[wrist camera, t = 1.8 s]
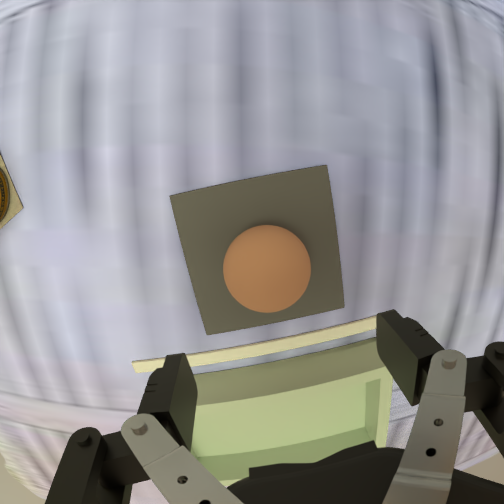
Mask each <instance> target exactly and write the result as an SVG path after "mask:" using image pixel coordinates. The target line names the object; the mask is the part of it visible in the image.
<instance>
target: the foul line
mask: <svg viewBox="0 0 504 504" xmlns="http://www.w3.org/2000/svg"><path fill="white" fill-rule="evenodd" d="M376 316H377V315H376ZM376 316H372V317H369V318H365V319H361V320H357V321H353V322H349V323H345V324H341V325H337V326H333V327H329V328H325V329H321V330H316V331H312V332H307V333H303V334H298V335H294V336H289V337H284V338H279V339H274V340H269V341H264V342H259V343H254V344H248V345H243V346H237V347H231V348H226V349H220V350H213V351H207V352H201V353H194V354H187V355H186V356H187V359H188V362H189V365H190V367H192V366H199V365H206V364H213V363H219V362H225V361H231V360H237V359H243V358H249V357H254V356H260V355H265V354H270V353H275V352H280V351H285V350H290V349H294V348H299V347H304V346H308V345H312V344H317V343H321V342H325V341H330V340H334V339H338V338H342V337H346V336H350V335H353V334H357V333H361V332H365V331H368V330H372V329H376ZM165 358H166V357H165ZM165 358H157V359H149V360H140V361H132V366H133V368H134V370H135V372H136V373H141V372H151V371H155V370H156V369H157V368H163V364H164V361H165Z"/></svg>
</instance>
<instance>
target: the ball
mask: <svg viewBox="0 0 504 504" xmlns="http://www.w3.org/2000/svg"><path fill="white" fill-rule="evenodd" d="M223 274H224V280H225V283H226V286H227V288H228V290H229V292H230V293H231V295H232V296H233V297H234V298H235V299H236V300H237V301H238V302H239V303H240V304H241V305H243V306H244V307H246V308H248V309H250V310H253V311H257V312H263V313H271V312H277V311H281V310H283V309H286V308H288V307H290V306H291V305H292V304H294V303H295V302H296V301H297V300H298V299H299V298H300V297H301V296H302V295H303V293H304V292H305V290H306V288H307V286H308V283H309V280H310V275H311V263H310V258H309V255H308V252H307V250H306V248H305V246H304V244H303V243H302V242H301V240H300V239H299V238H298V237H297V236H296V235H294V234H293V233H292V232H290V231H288V230H287V229H284V228H282V227H278V226H273V225H261V226H256V227H252V228H250V229H248V230H246V231H244V232H243V233H241V234H240V235H239V236H237V237H236V238H235V239H234V241H233V242H232V243H231V244H230V246H229V248H228V250H227V252H226V255H225V258H224V263H223Z"/></svg>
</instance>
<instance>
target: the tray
mask: <svg viewBox="0 0 504 504" xmlns="http://www.w3.org/2000/svg"><path fill="white" fill-rule="evenodd" d="M193 376H194V378H195V381H196V384H197V390H198V397H197V405H196V412H195V420H194V429H193V437H192V445H191V454H192V455H193V456H194V457H195V458H196V459H197V460H198V461H199V462H200V463H201V464H202V465H203V466H204V467H205V468H206V469H207V470H208V471H209V472H210V473H211V474H212V475H213V476H214V477H215V478H216V479H217V480H218V481H219V482H220V483H221V484H222V485H224V486H228V485H231V484H233V483H235V482H237V481H239V480H241V479H243V478H246V477H249V468H251V467H258V466H265V465H271V464H277V463H314V462H317V461H319V460H322V459H324V458H326V457H328V456H330V455H332V454H334V453H336V452H339V451H341V450H343V449H345V448H348V447H352V446H356V445H359V444H362V443H366V442H369V441H372V440H374V441H375V444H376V446H377V448H380V447H385V445H386V438H387V431H388V423H389V414H390V405H391V395H392V383H393V377H392V375H391V374H390V372H389V371H388V369H387V368H386V366H385V365H384V363H383V362H382V360H381V359H380V357H379V355H378V352H377V346H376V338H375V337H374V338H371V339H367V340H364V341H360V342H356V343H352V344H349V345H345V346H341V347H337V348H333V349H329V350H325V351H320V352H316V353H312V354H307V355H303V356H298V357H294V358H289V359H284V360H279V361H274V362H269V363H264V364H258V365H253V366H247V367H241V368H236V369H229V370H223V371H217V372H210V373H203V374H196V375H193Z"/></svg>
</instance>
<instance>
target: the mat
mask: <svg viewBox="0 0 504 504" xmlns="http://www.w3.org/2000/svg"><path fill="white" fill-rule="evenodd" d="M170 200H171V205H172V209H173V213H174V217H175V221H176V225H177V229H178V233H179V237H180V241H181V245H182V249H183V253H184V256H185V260H186V264H187V268H188V271H189V275H190V279H191V282H192V286H193V289H194V293H195V297H196V300H197V304H198V307H199V310H200V314H201V317H202V321H203V324H204V327H205V331H206V334H207V335H212V334H218V333H224V332H229V331H235V330H240V329H246V328H251V327H256V326H261V325H266V324H271V323H276V322H281V321H286V320H291V319H296V318H300V317H305V316H309V315H314V314H318V313H323V312H327V311H331V310H335V309H340V308H344V295H343V284H342V274H341V264H340V255H339V246H338V238H337V230H336V222H335V215H334V208H333V201H332V194H331V187H330V181H329V175H328V169H327V165H322V166H316V167H310V168H304V169H298V170H292V171H287V172H281V173H276V174H270V175H265V176H260V177H254V178H249V179H244V180H239V181H234V182H230V183H225V184H220V185H215V186H211V187H206V188H202V189H197V190H193V191H188V192H184V193H180V194H176V195H171V196H170ZM261 225H273V226H278V227H282V228H284V229H287V230H288V231H290V232H292V233H293V234H294V235H296V236H297V237H298V238H299V239H300V240H301V242H302V243H303V244H304V246H305V248H306V250H307V252H308V255H309V258H310V263H311V275H310V280H309V283H308V286H307V288H306V290H305V292H304V293H303V295H302V296H301V297H300V298H299V299H298V300H297V301H296V302H295V303H294V304H292V305H291V306H290V307H288V308H286V309H283V310H281V311H277V312H271V313H263V312H257V311H253V310H250V309H248V308H246V307H244V306H243V305H241V304H240V303H239V302H238V301H237V300H236V299H235V298H234V297H233V296H232V295H231V293H230V292H229V290H228V288H227V286H226V283H225V280H224V274H223V263H224V258H225V255H226V252H227V250H228V248H229V246H230V244H231V243H232V242H233V241H234V239H235V238H236V237H237V236H239V235H240V234H241V233H243V232H244V231H246V230H248V229H250V228H252V227H256V226H261Z"/></svg>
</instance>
